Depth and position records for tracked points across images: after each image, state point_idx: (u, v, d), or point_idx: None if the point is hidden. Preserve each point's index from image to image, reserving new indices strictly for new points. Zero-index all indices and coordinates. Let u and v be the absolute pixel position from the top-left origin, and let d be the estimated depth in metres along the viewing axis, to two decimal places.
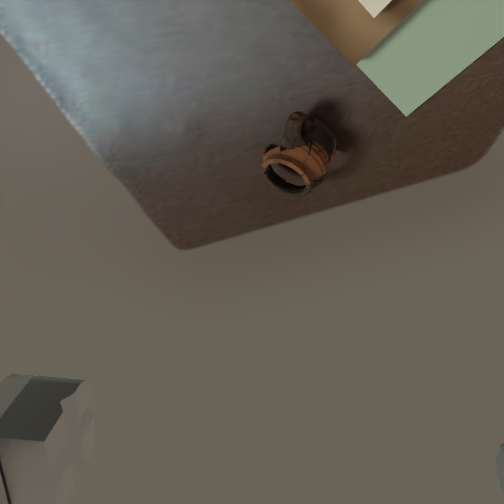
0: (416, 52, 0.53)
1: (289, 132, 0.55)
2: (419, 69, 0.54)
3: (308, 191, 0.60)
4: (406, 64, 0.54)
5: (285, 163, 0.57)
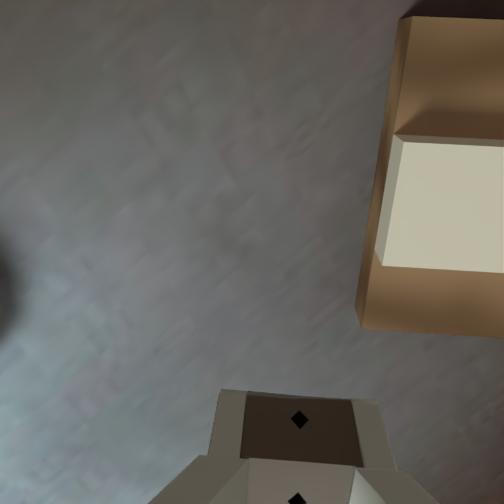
0: None
1: None
2: None
3: None
4: None
5: None
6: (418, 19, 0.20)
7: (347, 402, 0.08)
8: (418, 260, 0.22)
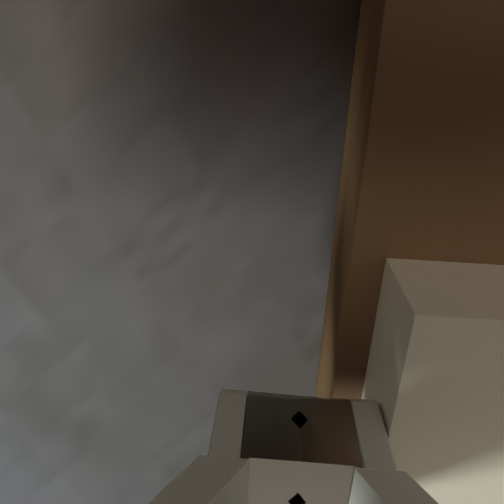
0: None
1: None
2: None
3: None
4: None
5: None
6: None
7: (347, 402, 0.08)
8: None
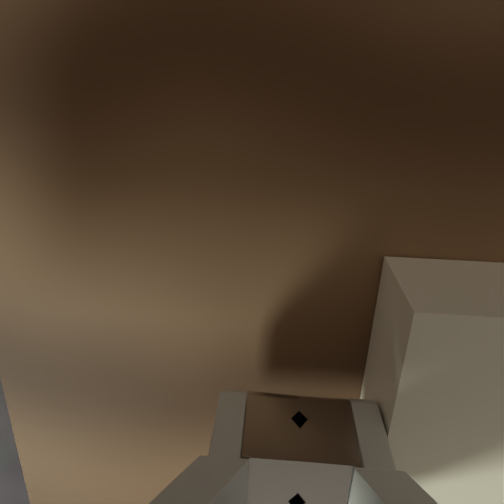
0: None
1: None
2: None
3: None
4: None
5: None
6: None
7: (346, 402, 0.08)
8: None
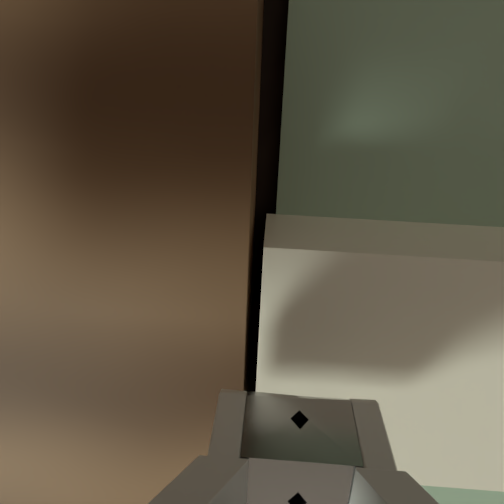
0: None
1: None
2: None
3: None
4: None
5: None
6: None
7: (347, 402, 0.08)
8: None
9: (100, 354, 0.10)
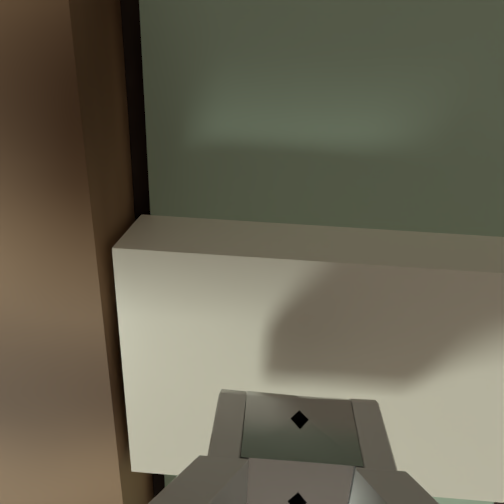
0: None
1: None
2: None
3: None
4: None
5: None
6: None
7: (347, 402, 0.08)
8: None
9: None
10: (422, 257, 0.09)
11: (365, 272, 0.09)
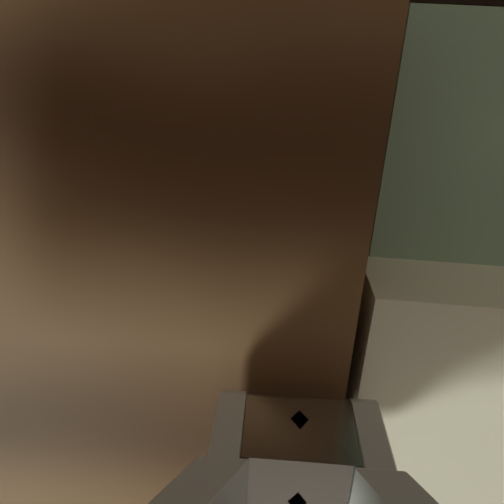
0: None
1: None
2: None
3: None
4: None
5: None
6: None
7: (347, 402, 0.08)
8: None
9: (192, 402, 0.10)
10: None
11: None
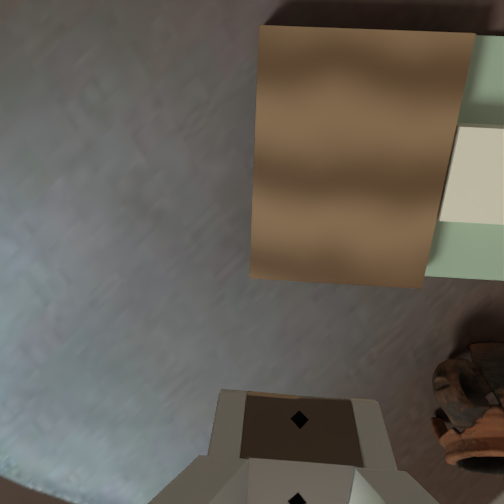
0: None
1: (451, 409, 0.31)
2: None
3: None
4: (497, 228, 0.32)
5: (481, 455, 0.32)
6: (263, 27, 0.26)
7: (347, 402, 0.08)
8: (467, 216, 0.29)
9: (395, 168, 0.28)
10: None
11: None
